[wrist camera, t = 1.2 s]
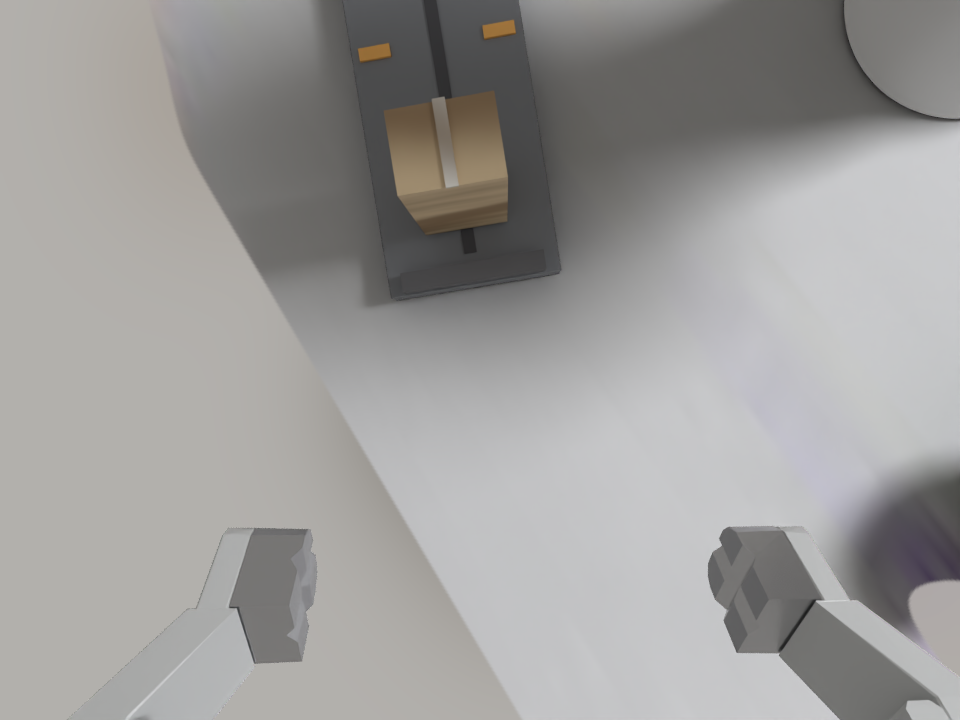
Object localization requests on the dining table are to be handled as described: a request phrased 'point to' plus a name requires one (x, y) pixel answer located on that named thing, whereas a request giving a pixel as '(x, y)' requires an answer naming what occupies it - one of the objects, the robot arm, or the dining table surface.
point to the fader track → (449, 73)
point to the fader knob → (450, 162)
